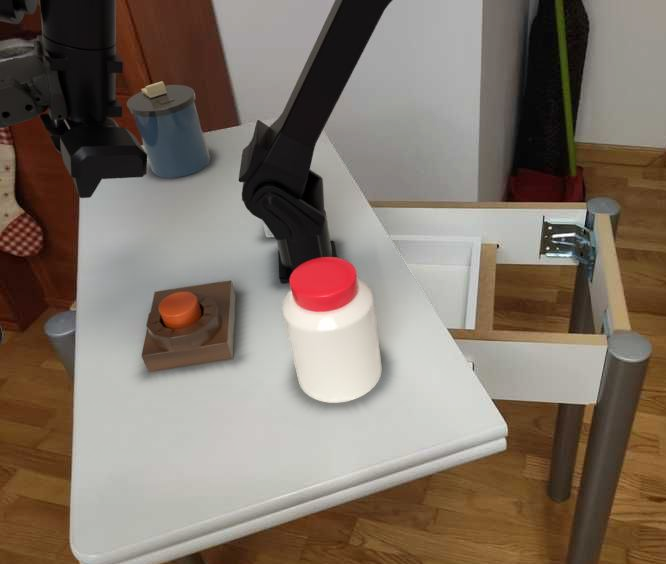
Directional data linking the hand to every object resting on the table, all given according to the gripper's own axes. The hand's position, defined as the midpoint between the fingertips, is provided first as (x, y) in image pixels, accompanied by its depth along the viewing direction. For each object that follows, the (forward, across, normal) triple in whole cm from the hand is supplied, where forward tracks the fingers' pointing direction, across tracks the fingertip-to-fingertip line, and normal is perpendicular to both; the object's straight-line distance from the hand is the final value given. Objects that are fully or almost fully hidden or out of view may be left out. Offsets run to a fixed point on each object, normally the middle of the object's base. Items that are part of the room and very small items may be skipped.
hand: (84, 196), depth 66 cm
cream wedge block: (+1, -27, +16) cm, 31 cm away
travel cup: (+10, -23, +19) cm, 32 cm away
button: (+4, +15, +5) cm, 17 cm away
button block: (+8, +14, +7) cm, 17 cm away
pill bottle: (+3, +28, +15) cm, 32 cm away
